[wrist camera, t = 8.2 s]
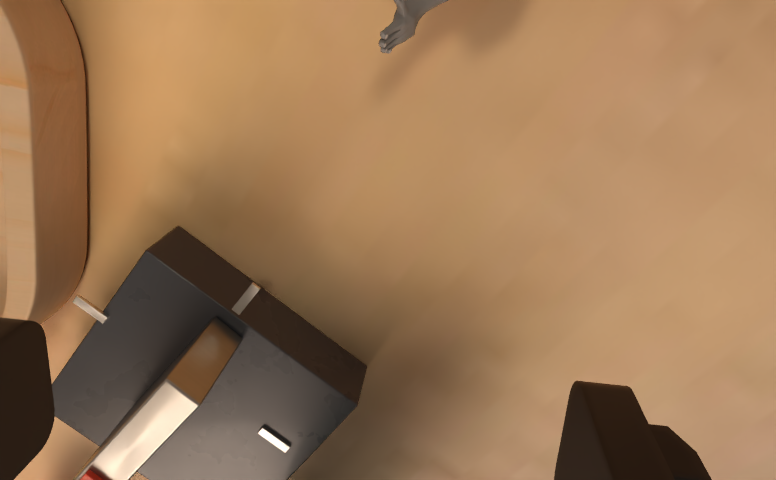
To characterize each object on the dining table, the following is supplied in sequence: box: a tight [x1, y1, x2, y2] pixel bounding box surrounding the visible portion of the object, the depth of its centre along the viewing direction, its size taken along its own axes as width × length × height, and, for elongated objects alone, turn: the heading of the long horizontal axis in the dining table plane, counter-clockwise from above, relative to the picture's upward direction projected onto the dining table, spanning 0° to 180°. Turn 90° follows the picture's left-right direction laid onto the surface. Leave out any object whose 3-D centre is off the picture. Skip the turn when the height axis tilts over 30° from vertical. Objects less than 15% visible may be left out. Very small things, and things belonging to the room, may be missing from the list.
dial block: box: [52, 226, 367, 480], centre depth 27 cm, size 11×11×3 cm
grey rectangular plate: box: [73, 317, 243, 480], centre depth 23 cm, size 6×1×5 cm, turn 138°
